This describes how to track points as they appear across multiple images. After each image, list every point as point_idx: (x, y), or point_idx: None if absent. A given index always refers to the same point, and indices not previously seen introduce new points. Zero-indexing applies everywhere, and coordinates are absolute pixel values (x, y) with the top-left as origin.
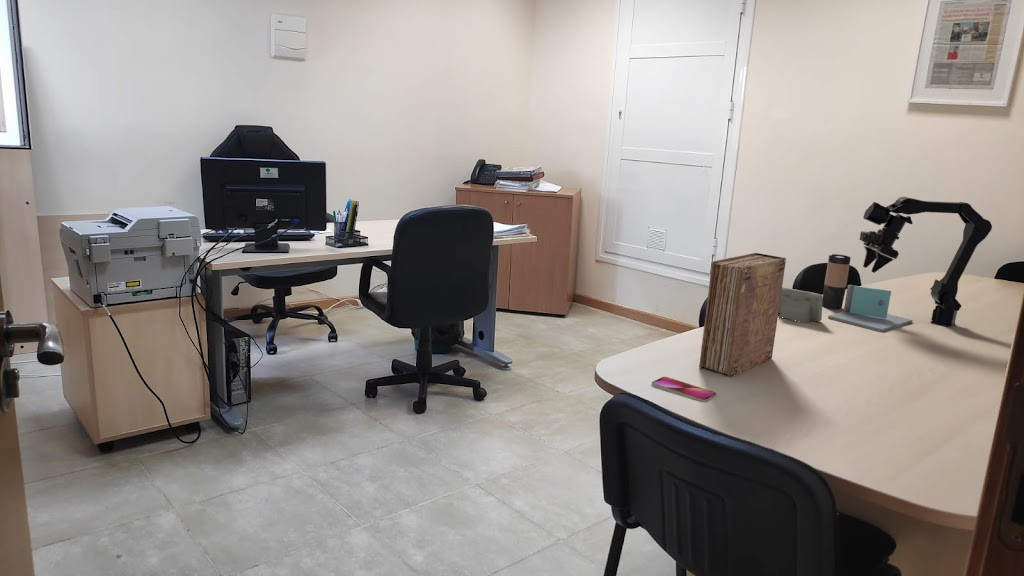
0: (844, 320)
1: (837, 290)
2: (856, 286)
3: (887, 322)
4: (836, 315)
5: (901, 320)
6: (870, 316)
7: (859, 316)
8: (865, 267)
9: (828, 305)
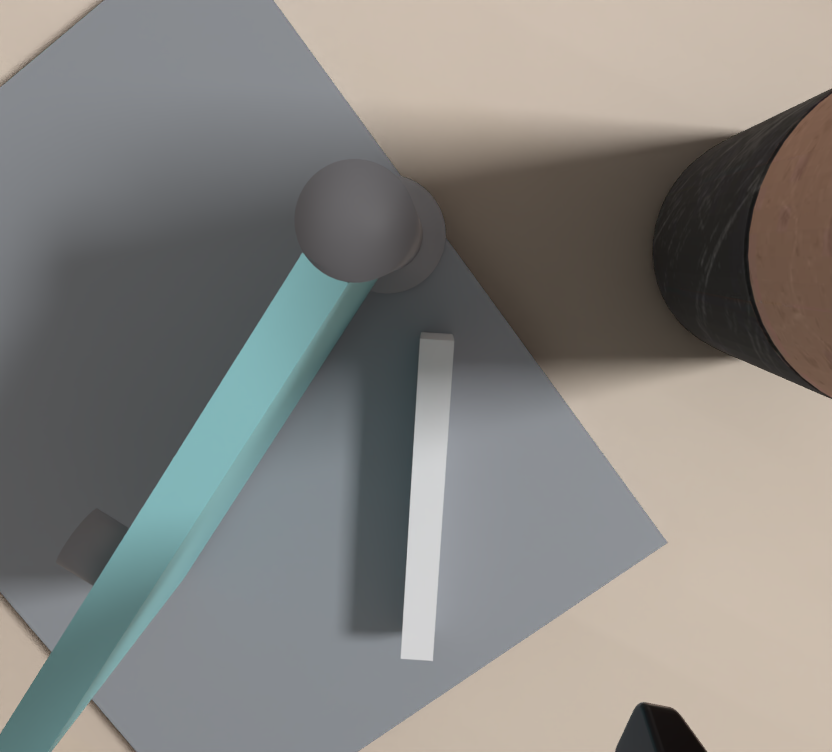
0: (59, 42)
1: (734, 209)
2: (281, 290)
3: (48, 511)
4: (237, 31)
5: (166, 713)
6: (268, 450)
7: (245, 314)
8: (622, 748)
9: (701, 157)
